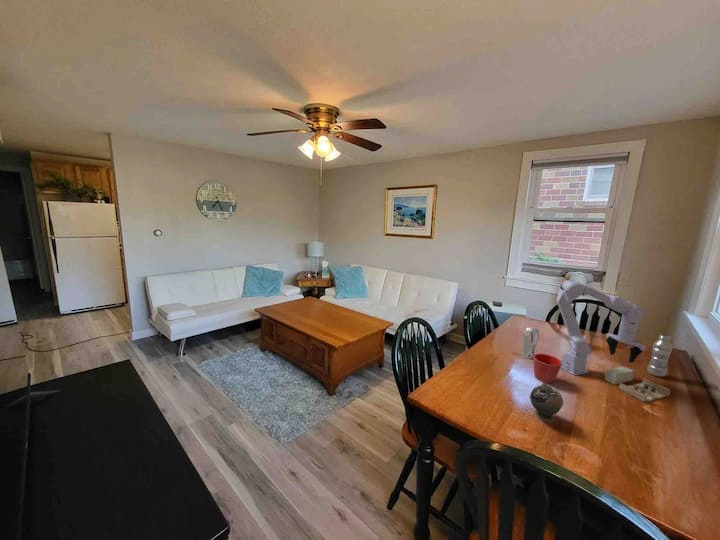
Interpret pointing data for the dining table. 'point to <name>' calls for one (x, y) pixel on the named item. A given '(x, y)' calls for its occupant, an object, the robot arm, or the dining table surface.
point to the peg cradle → (645, 390)
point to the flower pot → (546, 367)
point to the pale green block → (619, 375)
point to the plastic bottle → (660, 356)
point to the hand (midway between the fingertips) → (621, 358)
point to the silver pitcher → (529, 342)
